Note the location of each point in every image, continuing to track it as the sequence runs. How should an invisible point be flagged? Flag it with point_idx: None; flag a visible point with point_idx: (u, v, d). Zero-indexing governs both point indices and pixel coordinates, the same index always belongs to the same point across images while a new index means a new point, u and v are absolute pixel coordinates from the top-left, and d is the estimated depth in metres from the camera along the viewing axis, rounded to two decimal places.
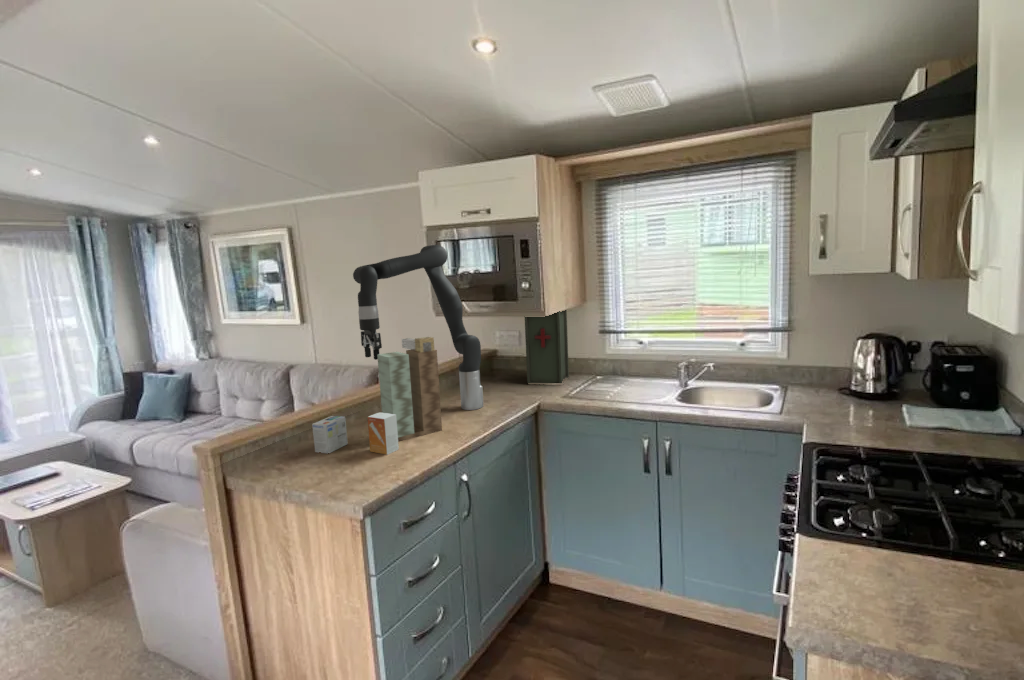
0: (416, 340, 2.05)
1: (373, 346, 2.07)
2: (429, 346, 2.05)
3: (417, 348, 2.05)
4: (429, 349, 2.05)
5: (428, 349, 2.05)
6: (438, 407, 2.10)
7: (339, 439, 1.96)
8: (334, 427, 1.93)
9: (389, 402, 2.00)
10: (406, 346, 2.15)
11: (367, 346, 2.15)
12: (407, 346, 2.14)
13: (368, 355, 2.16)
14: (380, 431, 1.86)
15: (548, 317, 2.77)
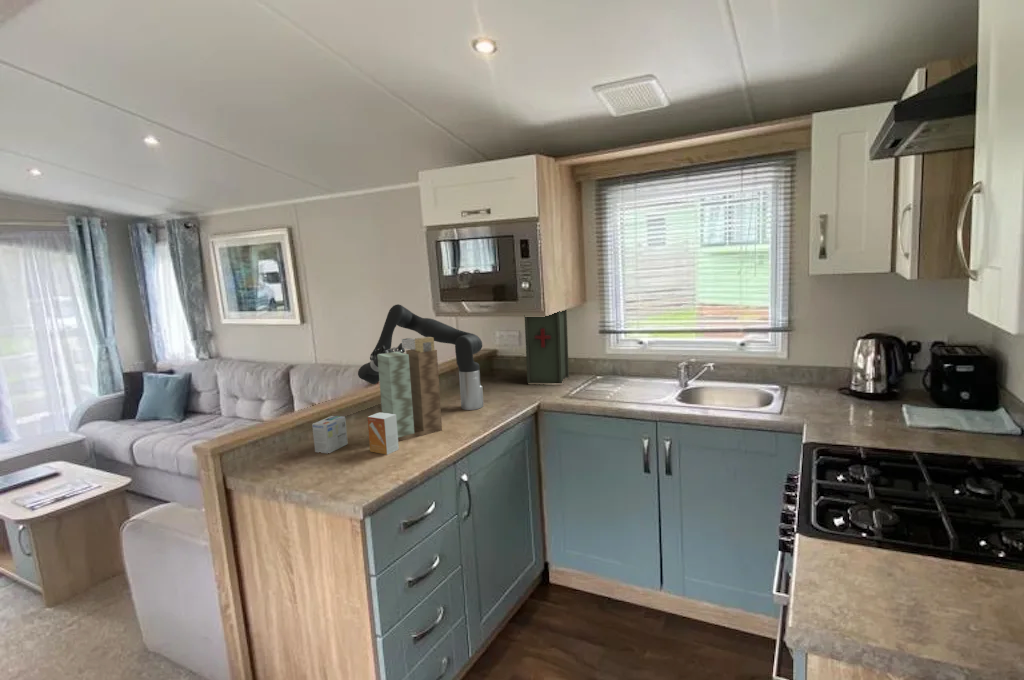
0: (416, 340, 2.05)
1: None
2: (429, 346, 2.05)
3: (417, 348, 2.05)
4: (429, 349, 2.05)
5: (428, 349, 2.05)
6: (438, 407, 2.10)
7: (339, 439, 1.96)
8: (334, 427, 1.93)
9: (389, 402, 2.00)
10: (406, 346, 2.15)
11: (398, 349, 2.37)
12: (407, 346, 2.14)
13: (401, 345, 2.34)
14: (380, 431, 1.86)
15: (548, 317, 2.77)
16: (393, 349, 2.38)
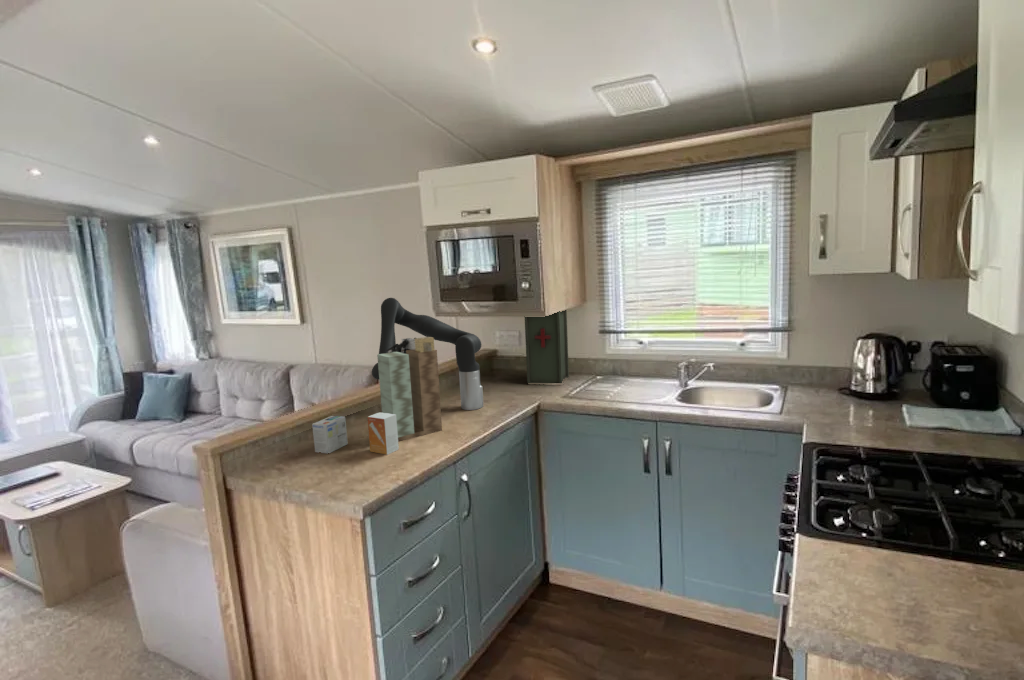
0: (416, 340, 2.05)
1: (401, 349, 2.16)
2: (429, 346, 2.05)
3: (417, 348, 2.05)
4: (429, 349, 2.05)
5: (428, 349, 2.05)
6: (438, 407, 2.10)
7: (339, 439, 1.96)
8: (334, 427, 1.93)
9: (389, 402, 2.00)
10: (406, 346, 2.15)
11: None
12: (407, 346, 2.14)
13: None
14: (380, 431, 1.86)
15: (548, 317, 2.77)
16: None
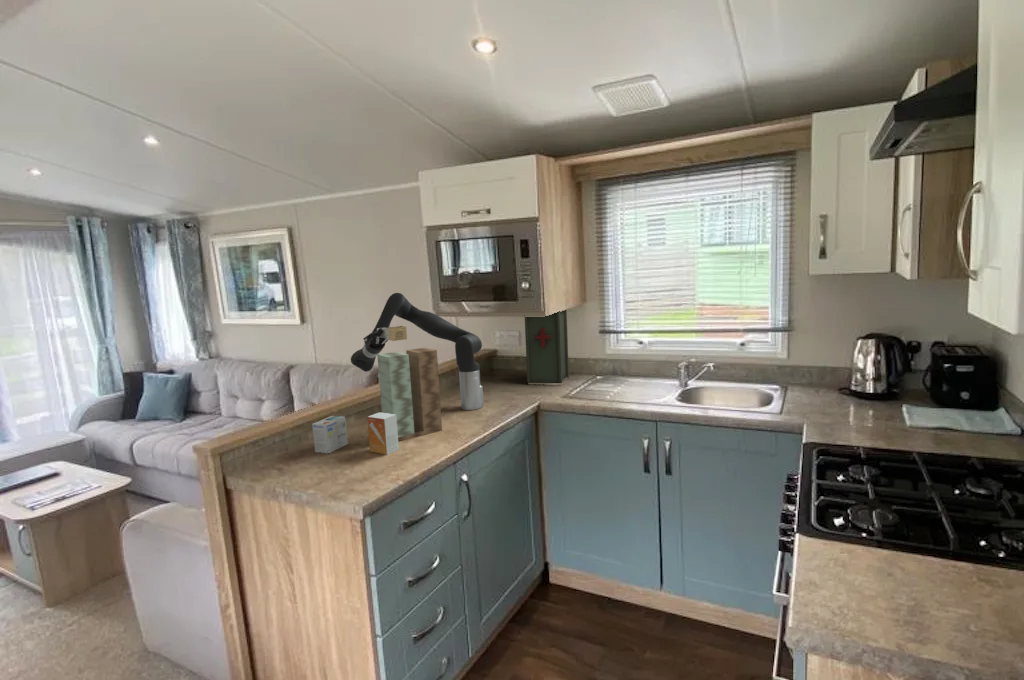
0: (389, 329, 2.12)
1: (376, 338, 2.23)
2: (401, 335, 2.12)
3: (390, 337, 2.12)
4: (402, 338, 2.13)
5: (400, 338, 2.12)
6: (438, 407, 2.10)
7: (339, 439, 1.96)
8: (334, 427, 1.93)
9: (389, 402, 2.00)
10: (381, 335, 2.22)
11: None
12: (381, 335, 2.22)
13: None
14: (380, 431, 1.86)
15: (548, 317, 2.77)
16: None
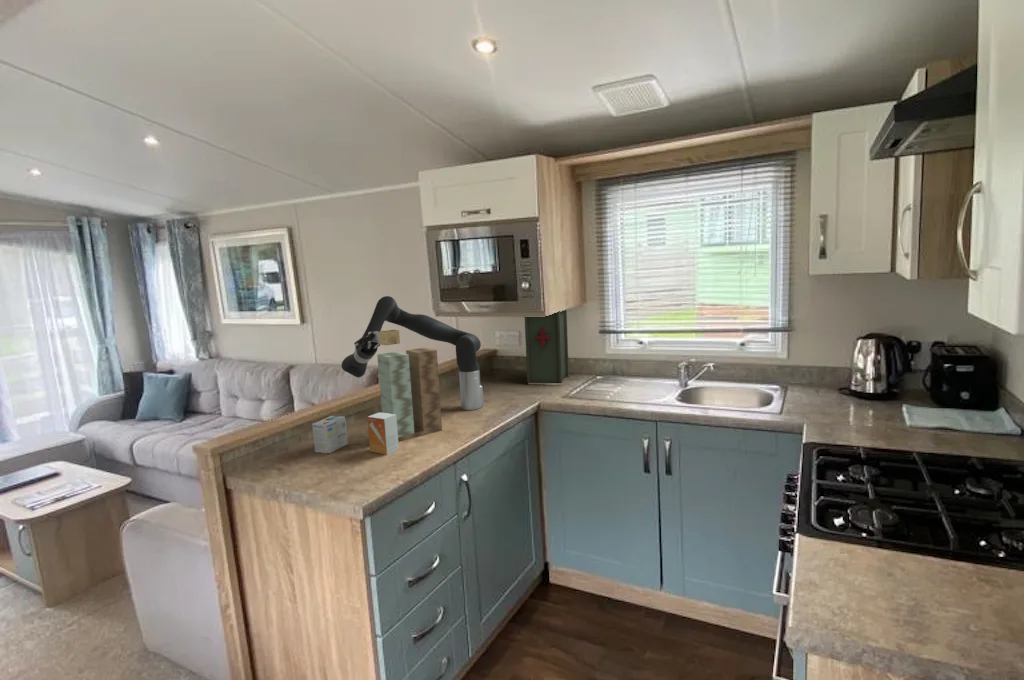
0: (381, 333, 2.00)
1: (368, 342, 2.12)
2: (394, 339, 2.01)
3: (382, 341, 2.00)
4: (395, 342, 2.01)
5: (393, 342, 2.01)
6: (438, 407, 2.10)
7: (339, 439, 1.96)
8: (334, 427, 1.93)
9: (389, 402, 2.00)
10: None
11: None
12: (373, 339, 2.10)
13: None
14: (380, 431, 1.86)
15: (548, 317, 2.77)
16: None
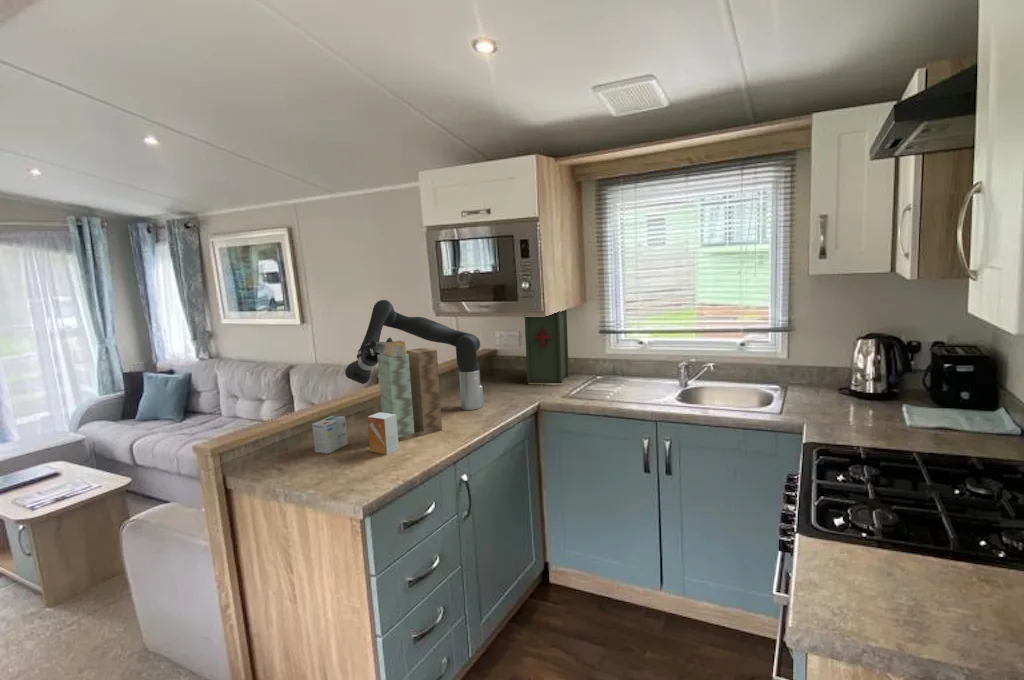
0: (386, 344, 1.98)
1: (370, 350, 2.08)
2: (400, 350, 1.98)
3: (388, 352, 1.98)
4: (400, 354, 1.98)
5: (399, 353, 1.98)
6: (438, 407, 2.10)
7: (339, 439, 1.96)
8: (334, 427, 1.93)
9: (389, 402, 2.00)
10: (378, 350, 2.08)
11: None
12: (378, 350, 2.07)
13: (389, 340, 2.09)
14: (380, 431, 1.86)
15: (548, 317, 2.77)
16: None
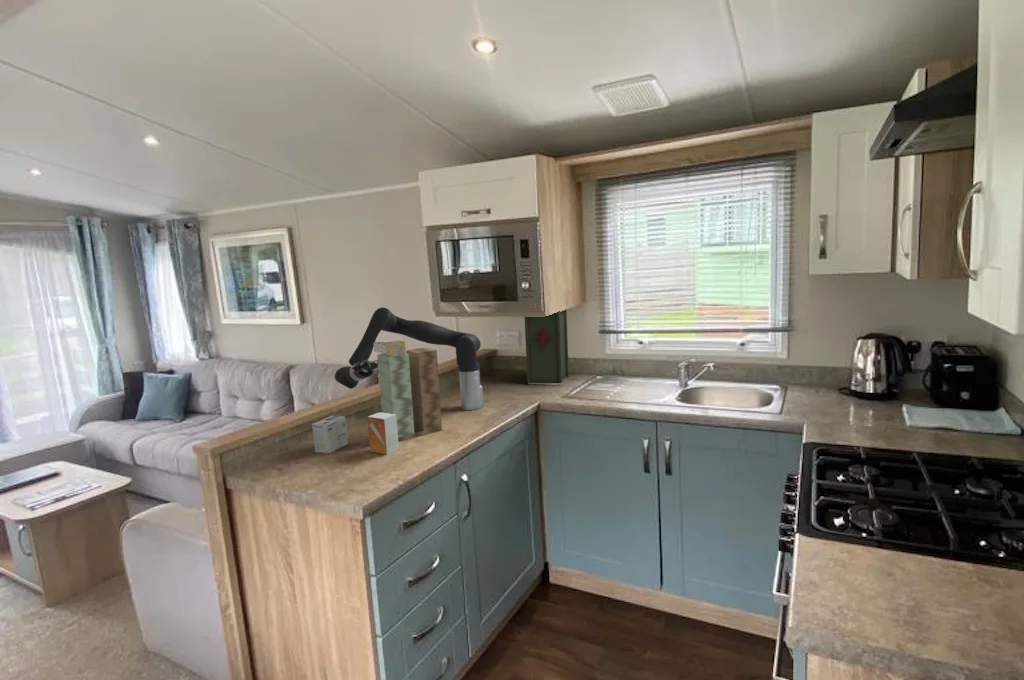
0: (386, 344, 1.98)
1: (362, 370, 2.18)
2: (400, 350, 1.98)
3: (388, 352, 1.98)
4: (400, 354, 1.98)
5: (399, 353, 1.98)
6: (438, 407, 2.10)
7: (339, 439, 1.96)
8: (334, 427, 1.93)
9: (389, 402, 2.00)
10: (378, 350, 2.08)
11: None
12: (378, 350, 2.07)
13: None
14: (380, 431, 1.86)
15: (548, 317, 2.77)
16: None
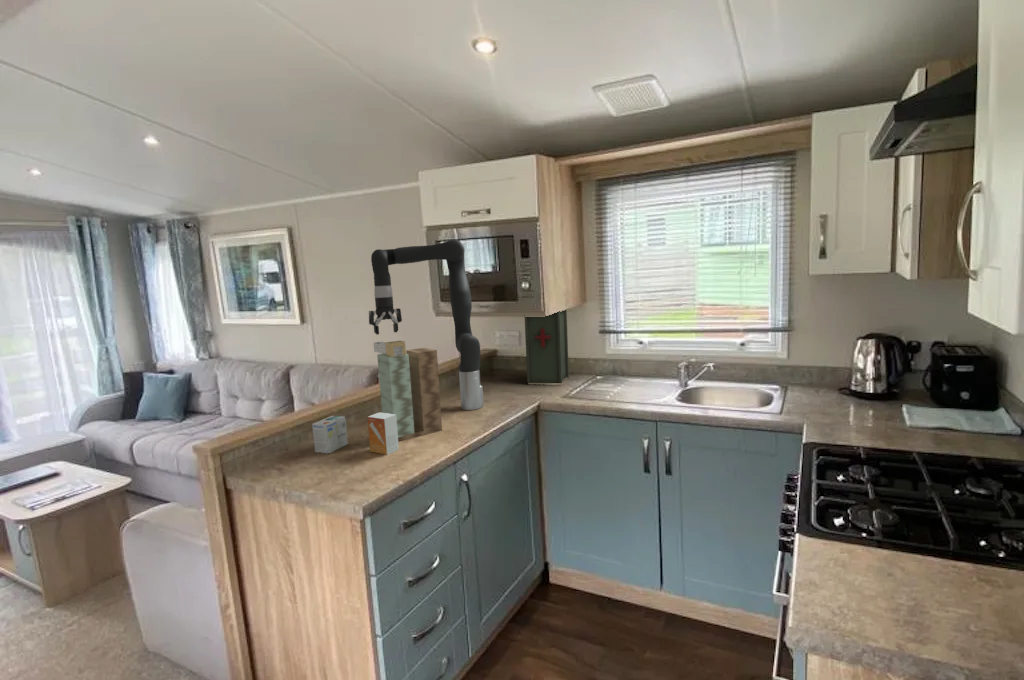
0: (386, 344, 1.98)
1: (374, 322, 2.32)
2: (400, 350, 1.98)
3: (388, 352, 1.98)
4: (400, 354, 1.98)
5: (399, 353, 1.98)
6: (438, 407, 2.10)
7: (339, 439, 1.96)
8: (334, 427, 1.93)
9: (389, 402, 2.00)
10: (378, 350, 2.08)
11: (394, 322, 2.37)
12: (378, 350, 2.07)
13: (394, 330, 2.37)
14: (380, 431, 1.86)
15: (548, 317, 2.77)
16: (393, 316, 2.35)
